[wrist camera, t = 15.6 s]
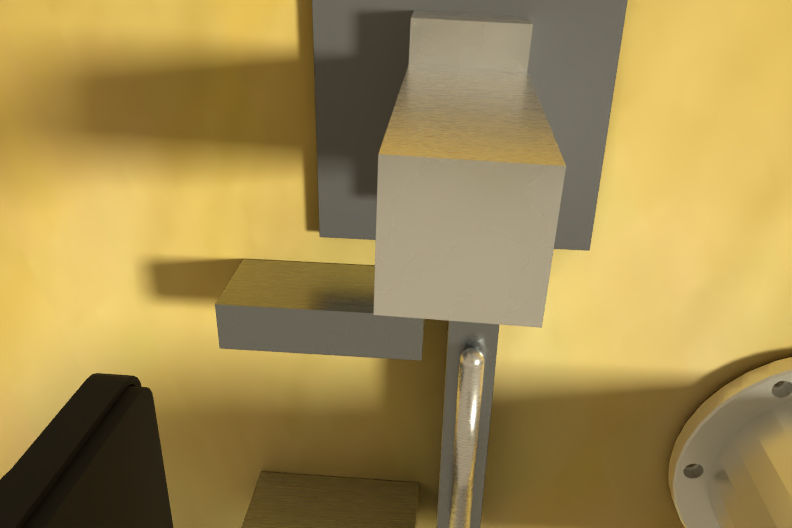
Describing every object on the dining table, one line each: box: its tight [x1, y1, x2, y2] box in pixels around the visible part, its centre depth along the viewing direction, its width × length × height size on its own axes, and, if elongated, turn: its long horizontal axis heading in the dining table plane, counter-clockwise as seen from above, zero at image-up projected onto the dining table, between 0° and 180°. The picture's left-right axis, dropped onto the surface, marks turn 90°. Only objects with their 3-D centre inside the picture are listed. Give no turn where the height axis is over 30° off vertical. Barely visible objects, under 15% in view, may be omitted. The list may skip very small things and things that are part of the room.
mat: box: [312, 0, 627, 250], centre depth 27 cm, size 11×11×1 cm
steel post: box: [374, 10, 566, 328], centre depth 22 cm, size 4×7×12 cm, turn 178°
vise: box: [215, 259, 499, 528], centre depth 32 cm, size 11×14×4 cm
